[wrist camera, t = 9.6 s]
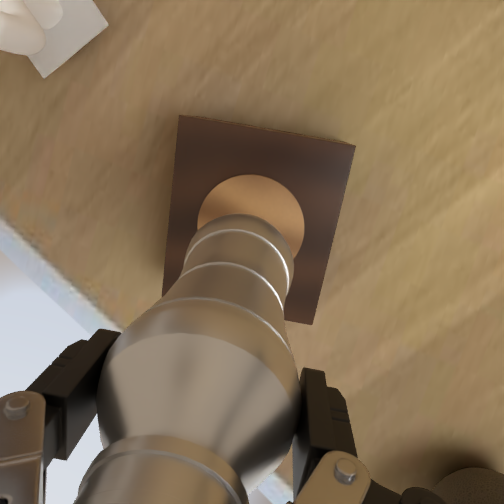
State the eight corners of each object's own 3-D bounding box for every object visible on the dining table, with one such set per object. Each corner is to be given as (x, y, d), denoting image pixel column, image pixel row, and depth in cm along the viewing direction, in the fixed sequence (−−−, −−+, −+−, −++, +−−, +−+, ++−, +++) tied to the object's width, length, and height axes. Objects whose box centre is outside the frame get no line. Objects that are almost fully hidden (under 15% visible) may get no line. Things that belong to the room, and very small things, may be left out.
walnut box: (195, 115, 36) (178, 114, 30) (344, 141, 36) (356, 145, 30) (178, 273, 41) (160, 299, 35) (308, 297, 41) (312, 327, 35)
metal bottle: (211, 191, 25) (-13, 396, 6) (308, 226, 25) (372, 528, 7) (184, 277, 27) (-45, 623, 8) (274, 309, 28) (247, 718, 9)
